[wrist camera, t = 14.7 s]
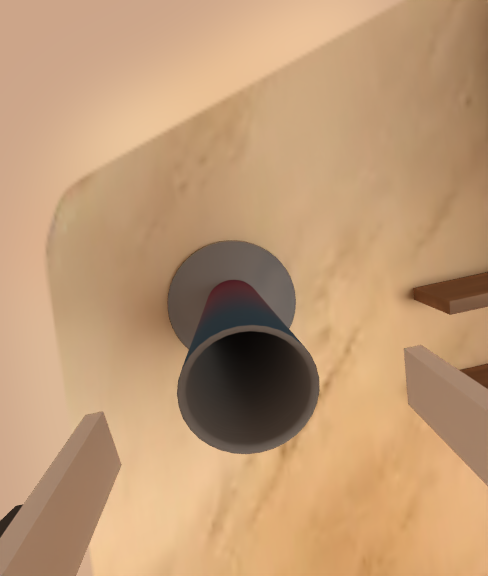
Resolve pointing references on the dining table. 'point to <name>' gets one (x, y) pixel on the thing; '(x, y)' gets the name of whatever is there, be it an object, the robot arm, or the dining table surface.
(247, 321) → the cup
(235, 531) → the dining table surface
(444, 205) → the dining table surface
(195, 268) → the coaster
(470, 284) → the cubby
